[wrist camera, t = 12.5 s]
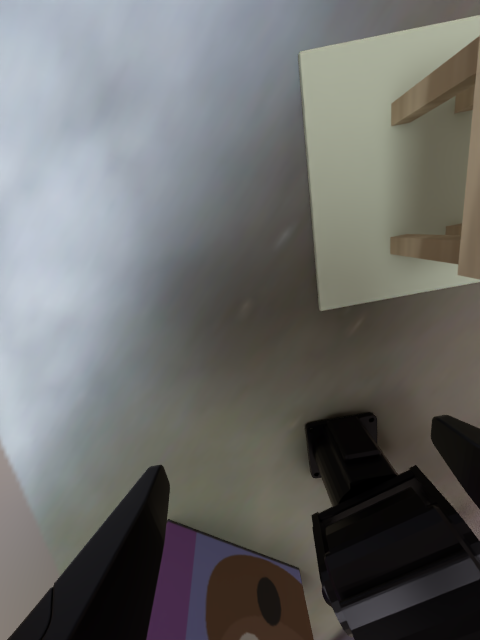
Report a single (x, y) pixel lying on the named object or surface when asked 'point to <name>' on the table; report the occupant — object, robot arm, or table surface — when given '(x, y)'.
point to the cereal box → (224, 592)
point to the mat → (382, 162)
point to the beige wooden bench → (471, 94)
